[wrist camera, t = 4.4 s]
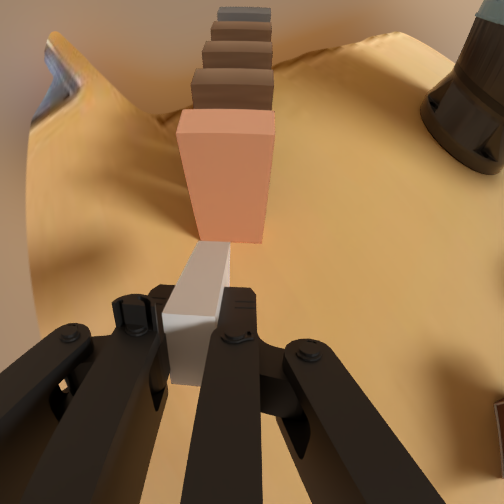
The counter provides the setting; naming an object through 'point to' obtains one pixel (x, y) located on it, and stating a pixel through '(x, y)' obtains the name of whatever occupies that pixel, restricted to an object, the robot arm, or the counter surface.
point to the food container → (500, 428)
